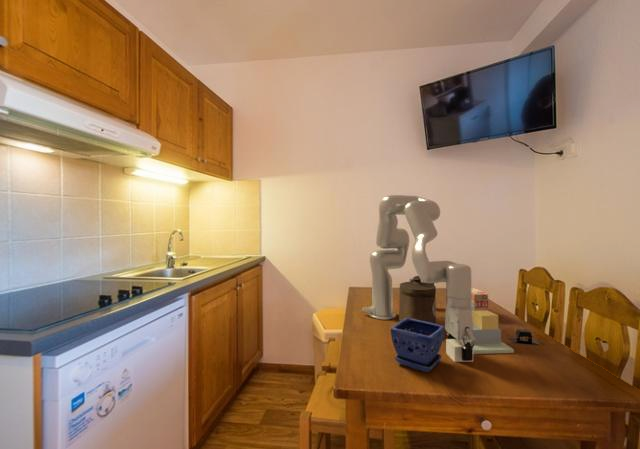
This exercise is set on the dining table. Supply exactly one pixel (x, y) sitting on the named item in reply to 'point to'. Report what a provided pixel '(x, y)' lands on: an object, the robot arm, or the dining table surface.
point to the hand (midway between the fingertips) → (459, 353)
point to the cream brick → (455, 350)
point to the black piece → (523, 340)
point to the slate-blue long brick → (486, 335)
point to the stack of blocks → (479, 300)
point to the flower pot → (417, 343)
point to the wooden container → (417, 301)
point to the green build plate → (492, 348)
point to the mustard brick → (485, 320)
